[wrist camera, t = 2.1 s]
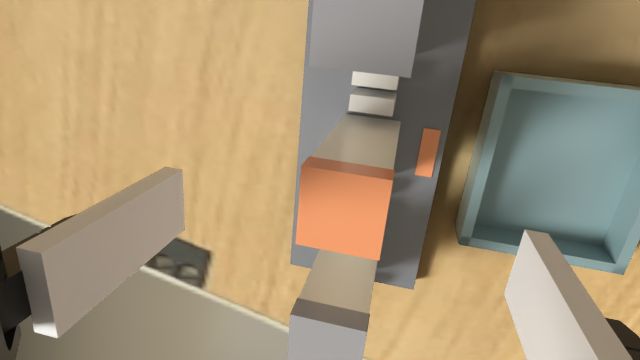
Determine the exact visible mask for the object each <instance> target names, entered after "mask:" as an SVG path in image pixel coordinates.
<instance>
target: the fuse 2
mask: <svg viewBox="0 0 640 360" xmlns="http://www.w3.org/2000/svg"><path fill="white" fill-rule="evenodd" d="M376 267H377V260H373V259H368V258H363V257H358V256H352V255H347V254H342V253H337V252H332V251H327V250H322V249H320V250H319V252H318V254H317V257H316V259H315V261H314V264H313V266H312V268H311V271H310V273H309V275H308V278H307V280H306V282H305V285H304V287H303V289H302V292H301V294H300V296H299V298H297V300H296V302H295V305H294V307H293V309H292V312H291V314H290V325H289V339H288V352H287V360H362V359H363V353H364V347H365V341H366V335H367V329H368V323H369V317H370V314H369V310H370V304H371V297H372V291H373V285H374V279H375V273H376Z"/></svg>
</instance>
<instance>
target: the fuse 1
mask: <svg viewBox="0 0 640 360" xmlns="http://www.w3.org/2000/svg"><path fill="white" fill-rule="evenodd" d="M423 4H424V0H314V1H313V15H312V28H311V42H310V55H309V66H313V67H322V68H330V69H339V70H347V71H356V72H364V73H373V74H381V75H390V76H398V77H407V78H411V73H412V68H413V62H414V56H415V50H416V44H417V38H418V33H419V27H420V21H421V15H422V9H423Z"/></svg>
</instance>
